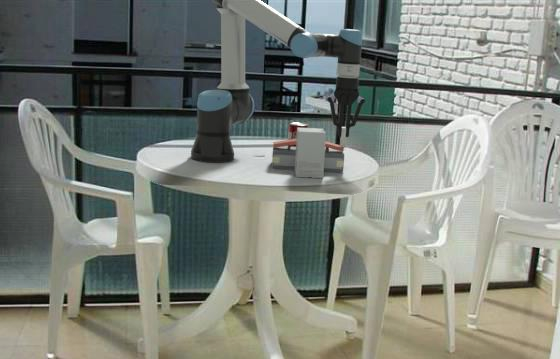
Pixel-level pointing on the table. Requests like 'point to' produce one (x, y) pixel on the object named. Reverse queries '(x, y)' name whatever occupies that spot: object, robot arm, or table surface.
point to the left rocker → (284, 143)
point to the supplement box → (310, 152)
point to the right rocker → (334, 146)
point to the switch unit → (287, 154)
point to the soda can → (295, 130)
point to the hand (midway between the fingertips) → (342, 146)
